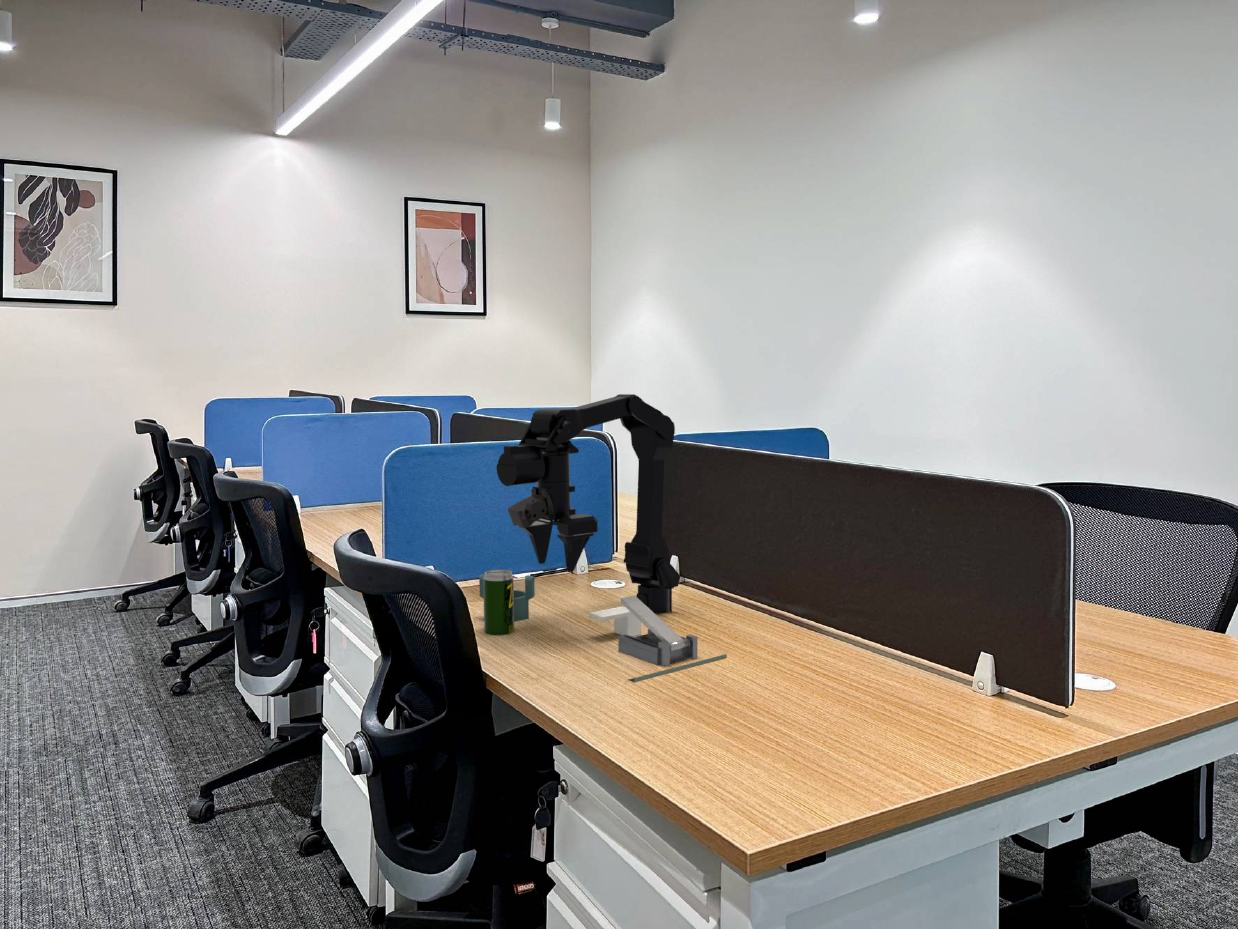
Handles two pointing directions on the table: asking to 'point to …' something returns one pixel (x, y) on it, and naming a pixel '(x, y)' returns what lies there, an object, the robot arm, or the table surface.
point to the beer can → (498, 602)
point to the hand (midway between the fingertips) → (555, 567)
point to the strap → (654, 623)
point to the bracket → (518, 597)
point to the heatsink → (655, 648)
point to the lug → (620, 620)
